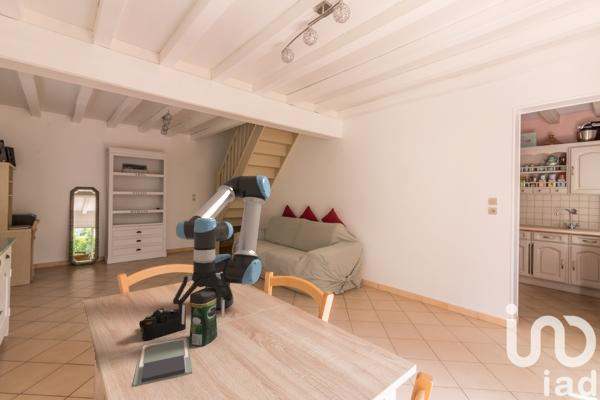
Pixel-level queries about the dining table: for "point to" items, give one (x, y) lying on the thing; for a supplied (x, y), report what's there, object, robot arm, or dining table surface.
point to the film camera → (161, 324)
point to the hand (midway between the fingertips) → (203, 319)
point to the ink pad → (163, 369)
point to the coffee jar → (203, 316)
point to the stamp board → (163, 356)
